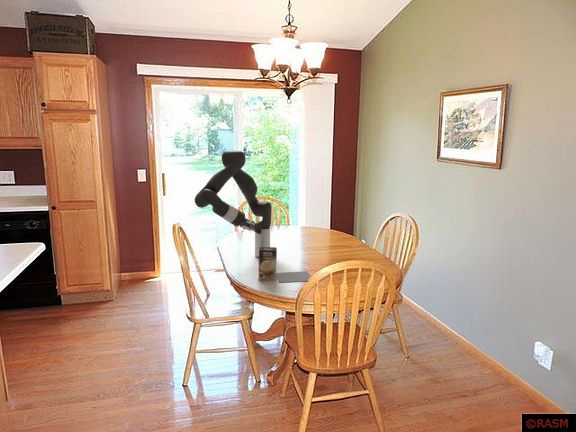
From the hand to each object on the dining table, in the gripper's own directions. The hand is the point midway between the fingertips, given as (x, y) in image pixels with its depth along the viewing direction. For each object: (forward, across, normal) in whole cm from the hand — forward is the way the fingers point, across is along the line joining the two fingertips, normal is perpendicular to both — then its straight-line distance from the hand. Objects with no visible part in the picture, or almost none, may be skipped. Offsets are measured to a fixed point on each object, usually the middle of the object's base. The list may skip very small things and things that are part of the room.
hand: (260, 232), depth 208 cm
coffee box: (+16, +2, +19) cm, 25 cm away
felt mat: (+27, -3, +12) cm, 30 cm away
